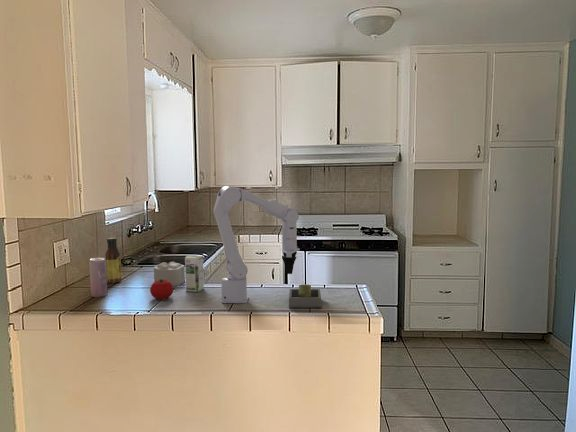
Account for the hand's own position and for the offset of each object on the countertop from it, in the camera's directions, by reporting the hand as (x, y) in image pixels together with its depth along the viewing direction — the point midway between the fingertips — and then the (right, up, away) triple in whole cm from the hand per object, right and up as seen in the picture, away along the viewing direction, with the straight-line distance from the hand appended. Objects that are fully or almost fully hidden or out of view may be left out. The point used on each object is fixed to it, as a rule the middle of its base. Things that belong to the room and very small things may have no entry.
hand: (289, 271), depth 173 cm
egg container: (-54, -8, +21) cm, 59 cm away
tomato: (-50, -10, -3) cm, 51 cm away
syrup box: (-40, -9, +8) cm, 42 cm away
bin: (+6, -11, -11) cm, 16 cm away
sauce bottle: (-79, -8, +23) cm, 83 cm away
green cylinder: (+6, -10, -11) cm, 16 cm away
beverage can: (-77, -10, +2) cm, 78 cm away
